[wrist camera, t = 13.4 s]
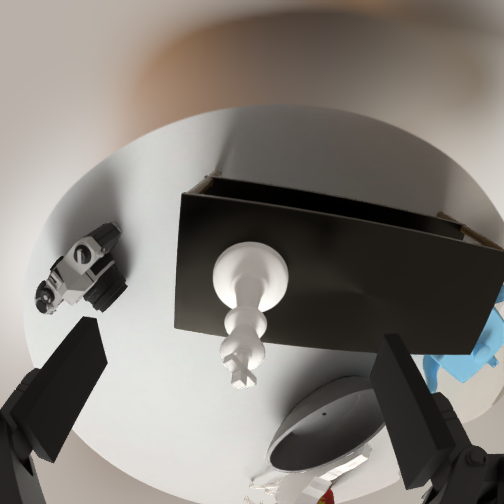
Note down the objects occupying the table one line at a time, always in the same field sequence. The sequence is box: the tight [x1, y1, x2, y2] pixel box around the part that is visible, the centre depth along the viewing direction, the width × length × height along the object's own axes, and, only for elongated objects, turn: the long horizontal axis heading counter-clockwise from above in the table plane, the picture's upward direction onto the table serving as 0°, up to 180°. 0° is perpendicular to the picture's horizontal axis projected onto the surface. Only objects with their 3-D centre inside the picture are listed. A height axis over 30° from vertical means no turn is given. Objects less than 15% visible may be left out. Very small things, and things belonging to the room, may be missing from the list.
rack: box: [174, 170, 504, 355], centre depth 28 cm, size 26×10×13 cm, turn 82°
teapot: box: [423, 285, 504, 393], centre depth 32 cm, size 18×14×10 cm
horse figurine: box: [244, 443, 372, 504], centre depth 46 cm, size 5×16×25 cm
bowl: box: [266, 376, 386, 473], centre depth 40 cm, size 12×22×6 cm, turn 144°
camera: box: [35, 222, 128, 315], centre depth 33 cm, size 13×8×9 cm, turn 133°
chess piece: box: [213, 242, 288, 390], centre depth 17 cm, size 5×5×10 cm
